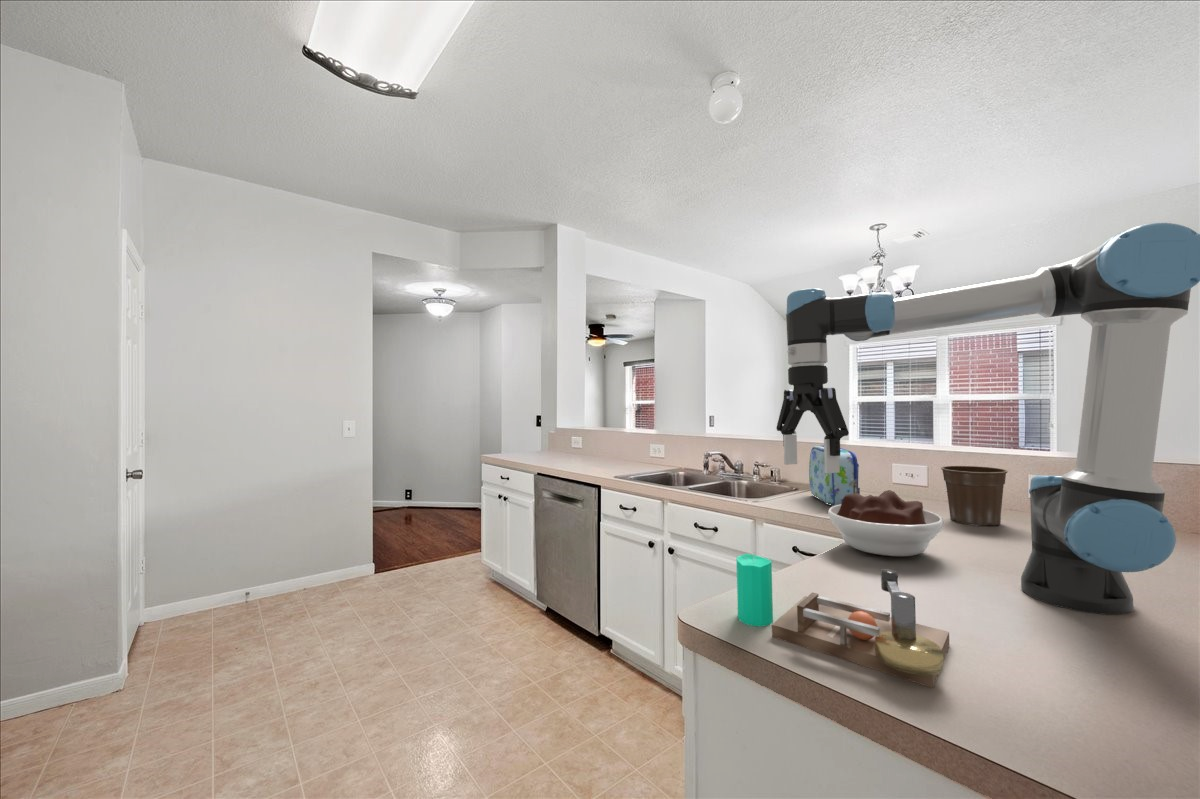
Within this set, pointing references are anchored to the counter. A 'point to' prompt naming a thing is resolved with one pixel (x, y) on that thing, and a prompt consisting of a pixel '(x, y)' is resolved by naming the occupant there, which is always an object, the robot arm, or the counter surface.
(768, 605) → the candle
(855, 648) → the stand
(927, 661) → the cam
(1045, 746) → the counter surface
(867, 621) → the ball
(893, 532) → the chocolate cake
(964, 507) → the plant pot
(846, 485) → the lunch box
